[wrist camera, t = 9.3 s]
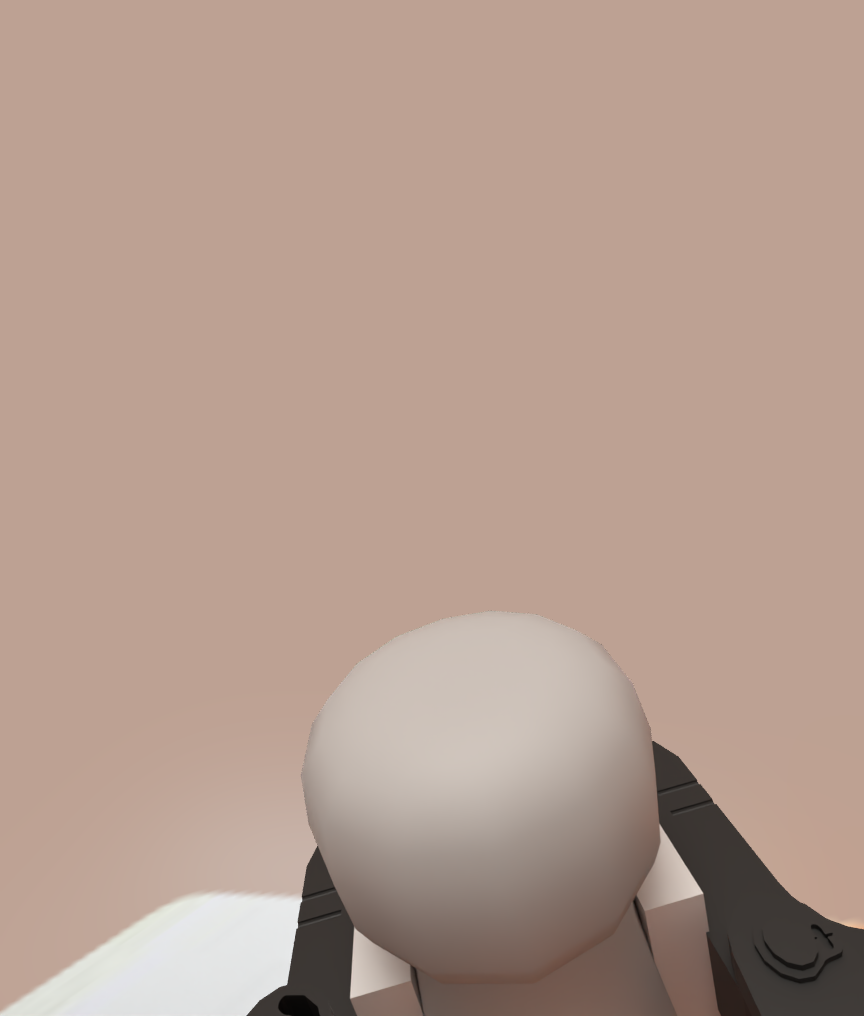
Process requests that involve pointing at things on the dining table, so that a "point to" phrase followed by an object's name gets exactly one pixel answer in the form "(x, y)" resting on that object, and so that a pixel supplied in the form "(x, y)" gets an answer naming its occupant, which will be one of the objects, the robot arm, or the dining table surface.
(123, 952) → the dining table surface
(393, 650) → the salt shaker
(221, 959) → the dining table surface
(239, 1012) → the dining table surface
